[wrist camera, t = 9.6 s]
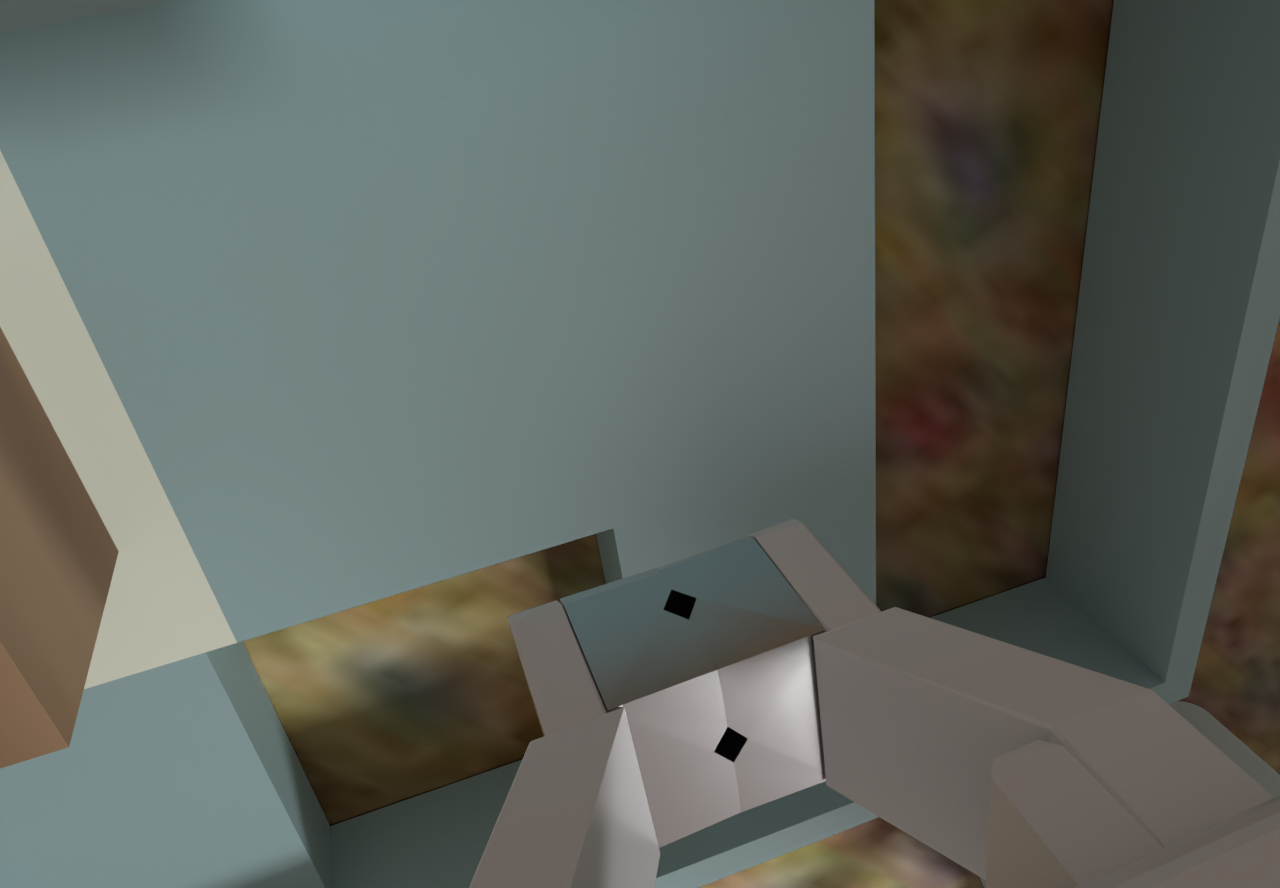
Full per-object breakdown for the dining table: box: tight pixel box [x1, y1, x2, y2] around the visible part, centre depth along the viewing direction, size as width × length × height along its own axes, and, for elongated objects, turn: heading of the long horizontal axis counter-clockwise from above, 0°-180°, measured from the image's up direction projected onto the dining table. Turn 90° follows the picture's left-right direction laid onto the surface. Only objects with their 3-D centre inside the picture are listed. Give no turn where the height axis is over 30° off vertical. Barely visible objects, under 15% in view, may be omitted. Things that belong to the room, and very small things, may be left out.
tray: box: [0, 0, 1280, 888], centre depth 16 cm, size 26×18×4 cm
